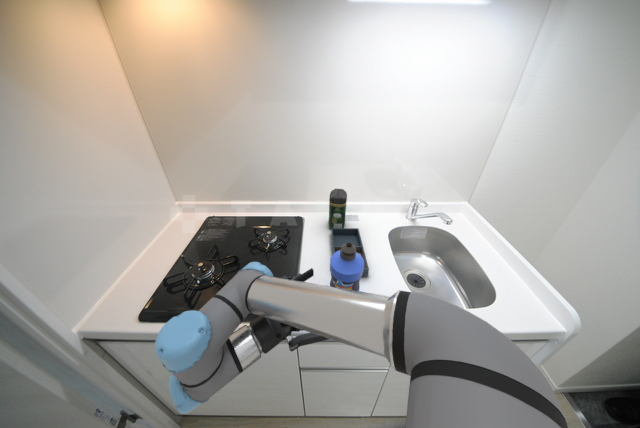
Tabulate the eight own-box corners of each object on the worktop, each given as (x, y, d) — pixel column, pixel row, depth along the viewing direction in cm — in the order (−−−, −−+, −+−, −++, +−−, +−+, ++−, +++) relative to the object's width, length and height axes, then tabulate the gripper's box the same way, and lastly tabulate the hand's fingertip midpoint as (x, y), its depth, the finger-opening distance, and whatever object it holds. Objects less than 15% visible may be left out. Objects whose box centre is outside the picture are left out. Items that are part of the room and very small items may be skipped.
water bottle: (354, 319, 63) (364, 262, 49) (325, 310, 66) (326, 253, 52) (359, 293, 71) (369, 237, 57) (332, 286, 73) (335, 230, 59)
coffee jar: (329, 219, 107) (330, 186, 96) (345, 220, 106) (347, 187, 96) (327, 230, 99) (328, 196, 89) (344, 232, 98) (347, 197, 88)
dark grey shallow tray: (367, 276, 77) (369, 269, 74) (334, 277, 76) (334, 269, 74) (357, 235, 96) (358, 228, 94) (331, 235, 96) (331, 228, 94)
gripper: (237, 307, 56) (302, 268, 67) (287, 401, 40) (361, 330, 51) (230, 290, 52) (301, 252, 63) (283, 387, 36) (364, 313, 47)
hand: (328, 286), depth 57 cm, fingers open, 13 cm apart
